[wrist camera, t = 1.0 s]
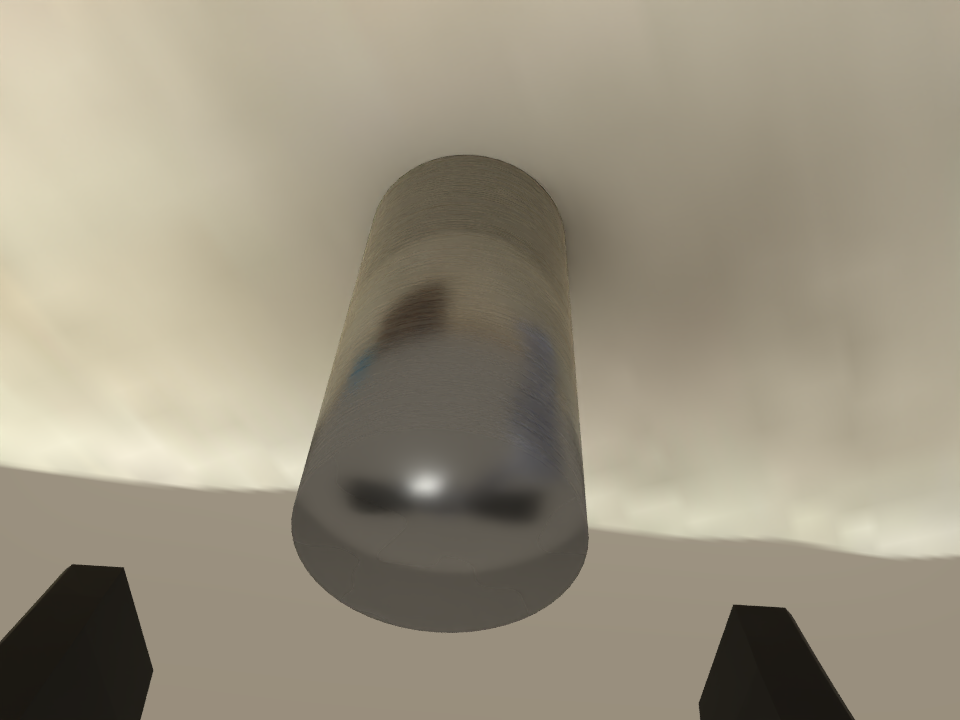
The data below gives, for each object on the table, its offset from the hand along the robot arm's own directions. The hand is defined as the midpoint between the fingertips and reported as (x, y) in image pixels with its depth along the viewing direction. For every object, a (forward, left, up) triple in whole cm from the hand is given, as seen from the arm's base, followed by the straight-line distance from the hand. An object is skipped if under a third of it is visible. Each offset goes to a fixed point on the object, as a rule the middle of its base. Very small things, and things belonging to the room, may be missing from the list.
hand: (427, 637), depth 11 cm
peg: (0, 0, -10) cm, 10 cm away
